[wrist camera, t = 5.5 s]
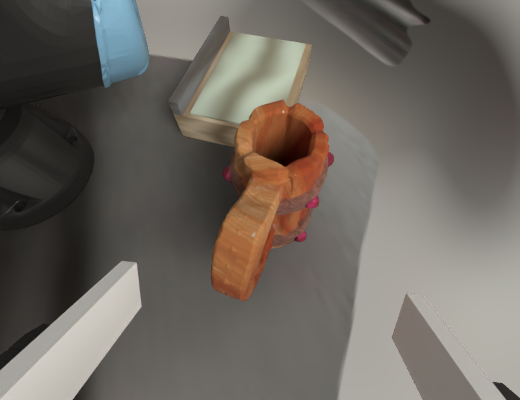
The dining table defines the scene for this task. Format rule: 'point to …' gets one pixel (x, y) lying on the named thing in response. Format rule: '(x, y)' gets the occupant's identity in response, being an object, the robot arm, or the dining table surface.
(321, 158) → the mug
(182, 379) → the dining table surface
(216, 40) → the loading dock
